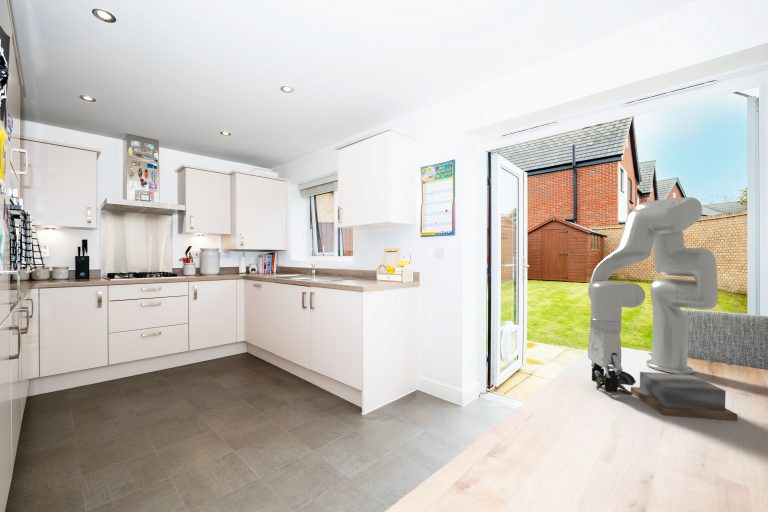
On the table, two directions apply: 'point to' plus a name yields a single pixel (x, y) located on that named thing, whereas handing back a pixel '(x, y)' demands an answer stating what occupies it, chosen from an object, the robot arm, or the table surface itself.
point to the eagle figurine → (623, 379)
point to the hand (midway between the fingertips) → (604, 385)
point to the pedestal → (683, 396)
